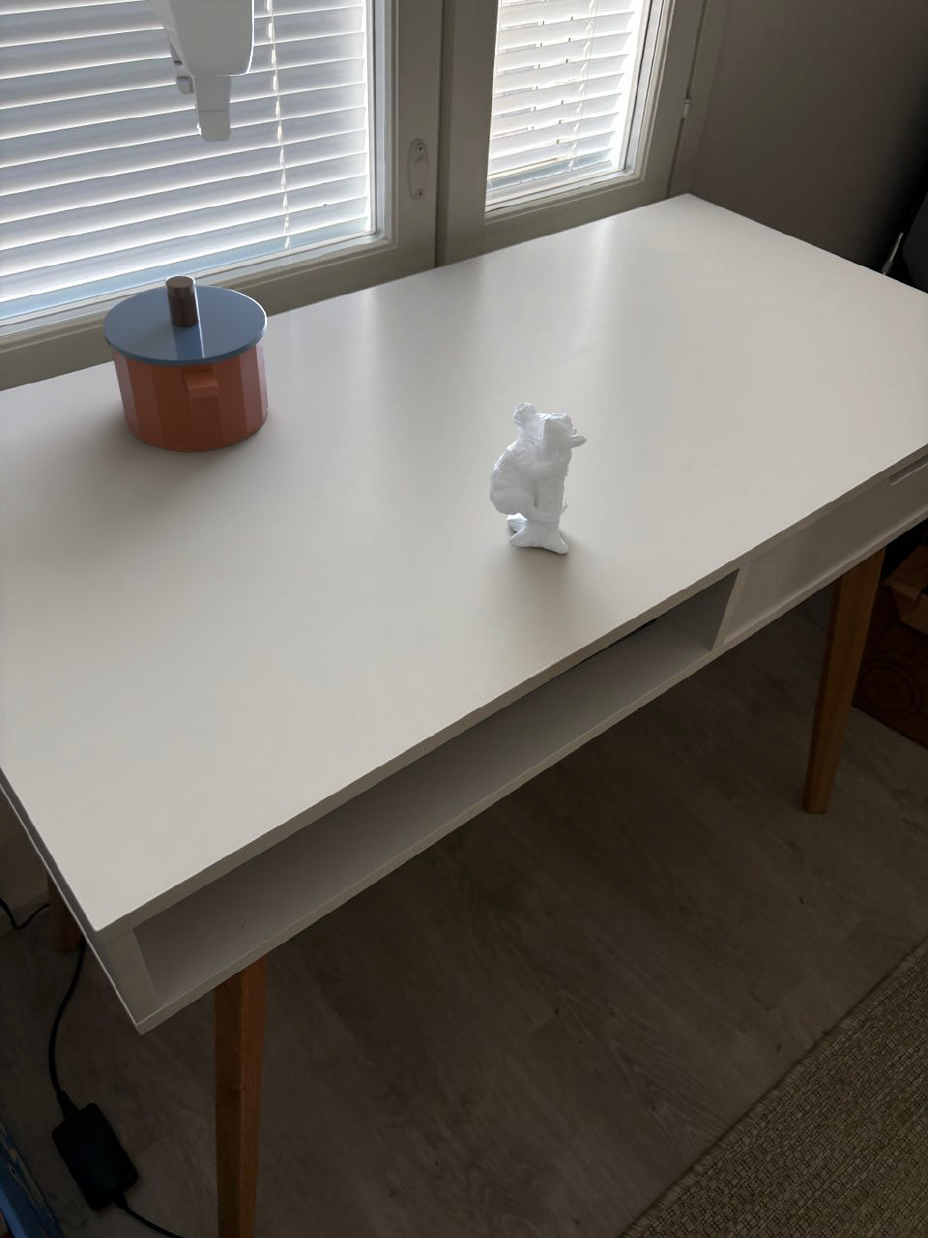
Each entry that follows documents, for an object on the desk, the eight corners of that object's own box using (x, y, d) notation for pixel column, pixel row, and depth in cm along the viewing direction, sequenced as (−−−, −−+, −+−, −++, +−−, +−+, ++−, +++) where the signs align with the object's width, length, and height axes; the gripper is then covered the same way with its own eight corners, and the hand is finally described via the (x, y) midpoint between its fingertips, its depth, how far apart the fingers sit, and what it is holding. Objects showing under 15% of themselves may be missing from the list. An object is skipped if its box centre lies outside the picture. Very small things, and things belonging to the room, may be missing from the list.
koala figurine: (594, 556, 80) (618, 427, 72) (518, 575, 78) (533, 443, 70) (547, 496, 86) (564, 370, 78) (474, 512, 84) (484, 383, 76)
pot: (138, 478, 85) (120, 389, 79) (115, 372, 97) (98, 288, 91) (286, 456, 88) (280, 369, 82) (247, 357, 100) (238, 274, 94)
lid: (113, 382, 81) (102, 328, 77) (98, 306, 90) (87, 254, 86) (282, 361, 84) (278, 309, 81) (250, 290, 94) (246, 240, 90)
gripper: (94, -182, 62) (133, 68, 71) (133, -129, 48) (174, 172, 57) (199, -179, 63) (223, 64, 73) (265, -127, 50) (284, 164, 59)
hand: (202, 112), depth 65 cm, fingers open, 8 cm apart
